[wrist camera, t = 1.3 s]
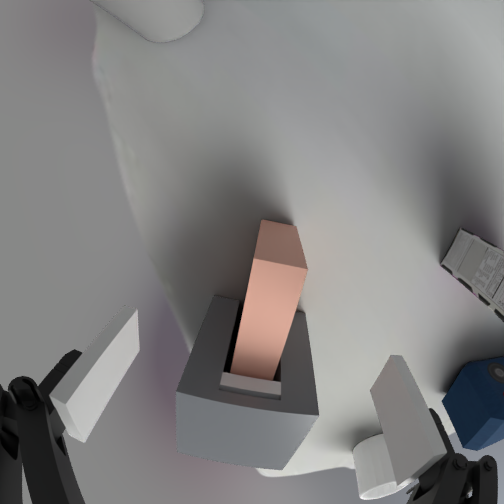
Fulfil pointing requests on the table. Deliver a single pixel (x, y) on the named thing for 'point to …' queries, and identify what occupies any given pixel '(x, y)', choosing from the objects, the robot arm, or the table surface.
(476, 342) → the table surface
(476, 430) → the radio
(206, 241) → the table surface
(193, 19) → the beverage can
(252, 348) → the tall pink prism
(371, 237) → the table surface
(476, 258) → the candy bar box
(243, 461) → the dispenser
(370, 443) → the mug
